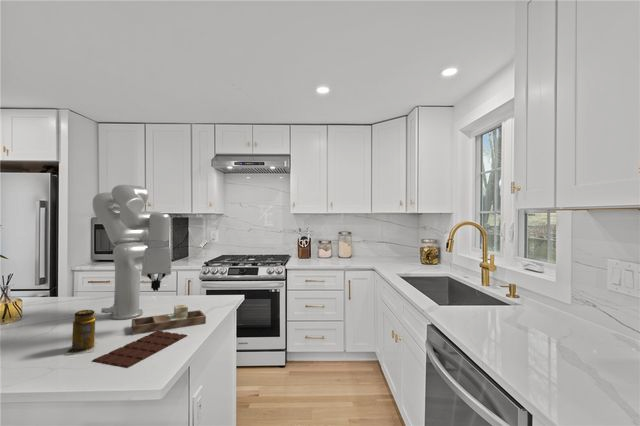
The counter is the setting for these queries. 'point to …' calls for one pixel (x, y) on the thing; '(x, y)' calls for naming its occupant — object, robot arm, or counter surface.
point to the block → (180, 311)
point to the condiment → (83, 333)
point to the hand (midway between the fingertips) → (155, 290)
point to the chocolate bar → (139, 349)
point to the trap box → (166, 322)
